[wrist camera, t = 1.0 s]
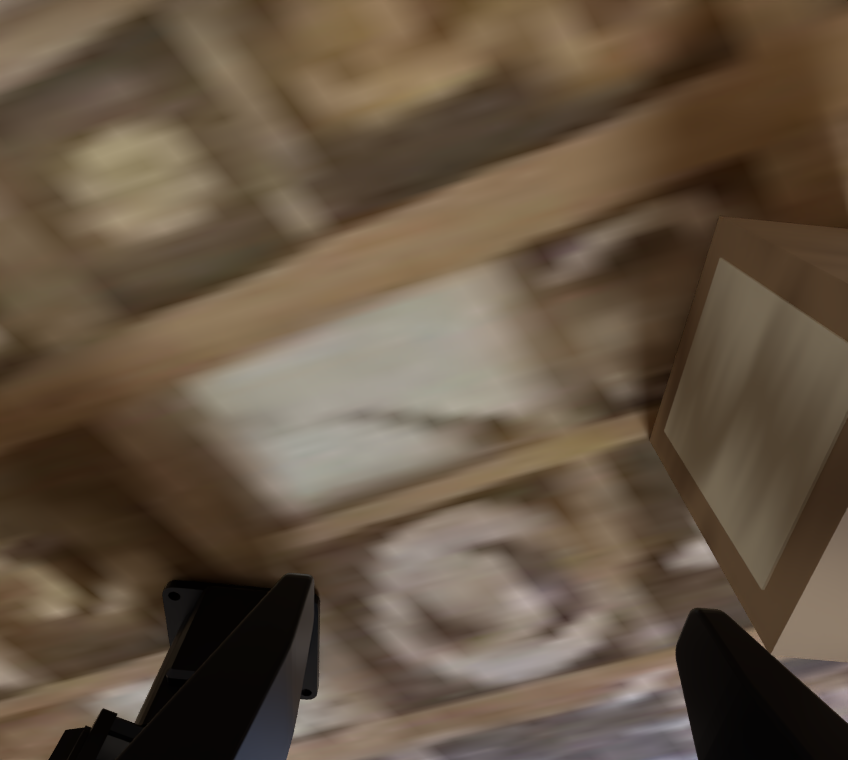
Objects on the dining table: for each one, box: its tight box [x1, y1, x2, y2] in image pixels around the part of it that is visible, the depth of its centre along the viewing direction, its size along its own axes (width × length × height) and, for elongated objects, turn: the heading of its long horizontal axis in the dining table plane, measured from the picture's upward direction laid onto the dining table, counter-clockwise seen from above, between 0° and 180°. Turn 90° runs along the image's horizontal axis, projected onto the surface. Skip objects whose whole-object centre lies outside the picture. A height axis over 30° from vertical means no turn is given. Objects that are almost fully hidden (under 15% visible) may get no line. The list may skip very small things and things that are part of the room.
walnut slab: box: [650, 216, 848, 662], centre depth 16 cm, size 8×4×9 cm, turn 175°
